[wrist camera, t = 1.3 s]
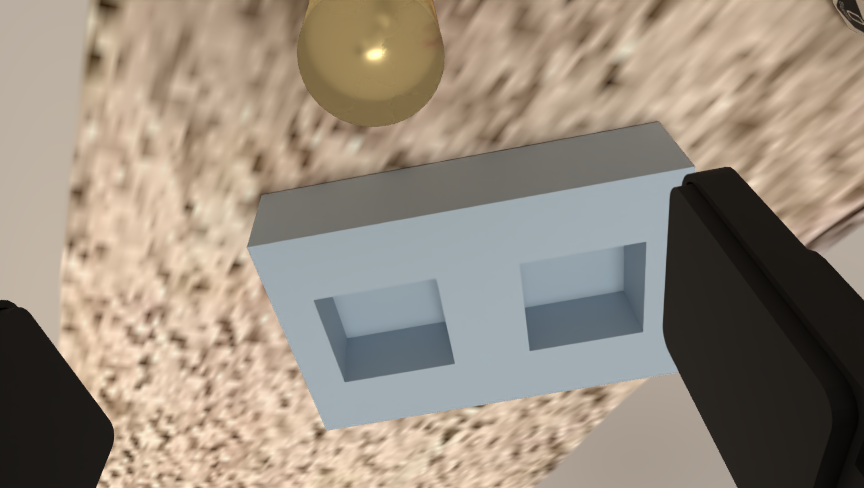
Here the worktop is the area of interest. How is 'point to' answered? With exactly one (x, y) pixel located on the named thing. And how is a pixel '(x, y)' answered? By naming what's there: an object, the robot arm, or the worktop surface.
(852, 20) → the supplement can
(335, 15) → the yellow cylinder
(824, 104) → the worktop surface
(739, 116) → the worktop surface
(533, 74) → the worktop surface
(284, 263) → the block
